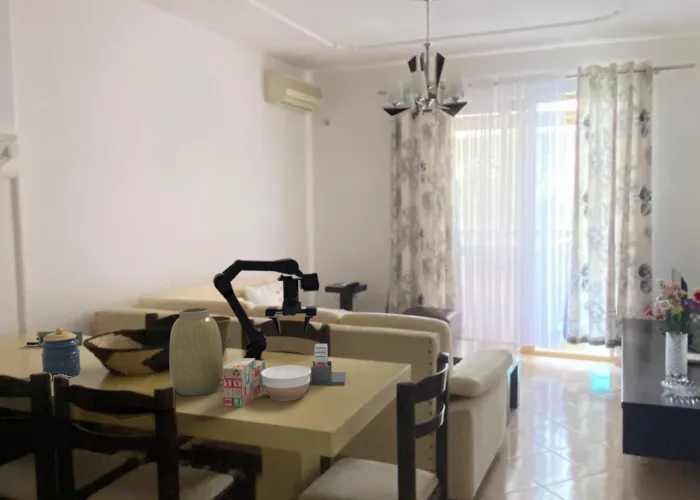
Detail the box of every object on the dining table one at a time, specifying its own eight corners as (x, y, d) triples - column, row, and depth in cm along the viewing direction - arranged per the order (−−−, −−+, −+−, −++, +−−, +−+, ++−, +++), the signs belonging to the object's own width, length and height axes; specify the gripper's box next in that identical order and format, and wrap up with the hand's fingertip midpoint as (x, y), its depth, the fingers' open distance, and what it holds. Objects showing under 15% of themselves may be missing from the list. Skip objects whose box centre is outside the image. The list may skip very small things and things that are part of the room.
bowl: (316, 400, 203) (316, 375, 202) (265, 405, 198) (264, 380, 198) (305, 386, 218) (304, 363, 217) (257, 391, 214) (257, 367, 213)
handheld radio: (80, 346, 287) (25, 347, 288) (83, 345, 291) (29, 345, 292) (79, 331, 287) (24, 332, 288) (83, 330, 290) (28, 331, 291)
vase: (179, 382, 225) (176, 306, 223) (228, 382, 225) (225, 305, 223) (163, 398, 208) (160, 314, 206) (217, 397, 208) (213, 314, 206)
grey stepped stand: (297, 385, 219) (296, 365, 218) (301, 375, 231) (300, 356, 230) (344, 385, 218) (344, 364, 218) (345, 375, 230) (345, 355, 230)
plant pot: (239, 358, 259) (238, 318, 257) (205, 365, 249) (203, 324, 248) (221, 352, 270) (219, 314, 269) (187, 358, 260) (186, 319, 259)
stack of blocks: (249, 386, 219) (247, 351, 218) (266, 387, 218) (265, 351, 217) (223, 406, 198) (222, 367, 197) (242, 407, 197) (241, 368, 196)
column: (315, 371, 220) (314, 347, 220) (316, 367, 225) (315, 343, 225) (327, 371, 220) (326, 347, 219) (328, 367, 225) (327, 343, 225)
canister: (80, 368, 248) (77, 323, 246) (82, 376, 236) (79, 328, 235) (42, 373, 242) (39, 326, 241) (42, 381, 231) (39, 332, 229)
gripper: (261, 296, 231) (263, 339, 232) (314, 295, 230) (315, 338, 231) (266, 291, 242) (268, 333, 243) (316, 290, 241) (317, 332, 242)
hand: (292, 334), depth 239 cm, fingers open, 9 cm apart
